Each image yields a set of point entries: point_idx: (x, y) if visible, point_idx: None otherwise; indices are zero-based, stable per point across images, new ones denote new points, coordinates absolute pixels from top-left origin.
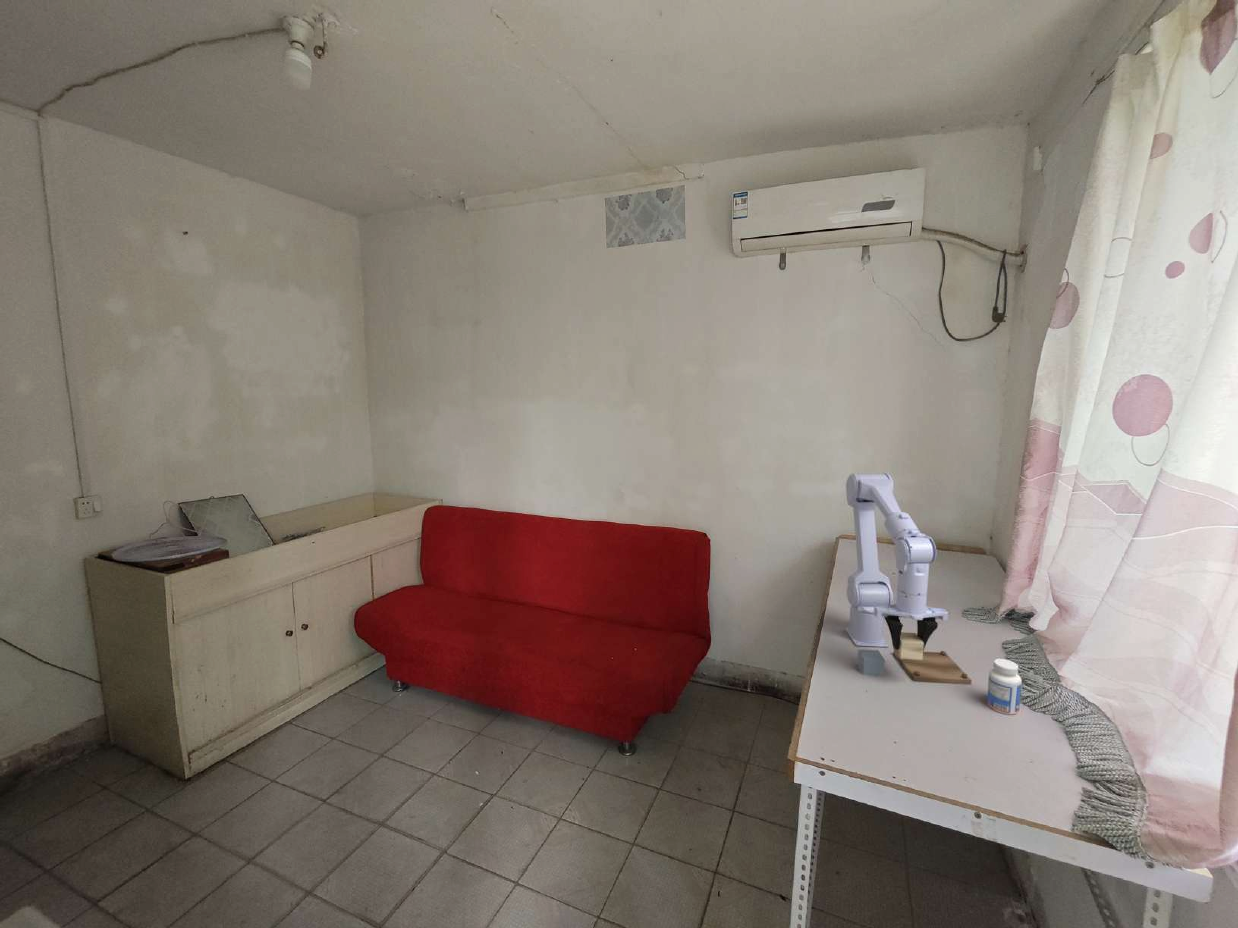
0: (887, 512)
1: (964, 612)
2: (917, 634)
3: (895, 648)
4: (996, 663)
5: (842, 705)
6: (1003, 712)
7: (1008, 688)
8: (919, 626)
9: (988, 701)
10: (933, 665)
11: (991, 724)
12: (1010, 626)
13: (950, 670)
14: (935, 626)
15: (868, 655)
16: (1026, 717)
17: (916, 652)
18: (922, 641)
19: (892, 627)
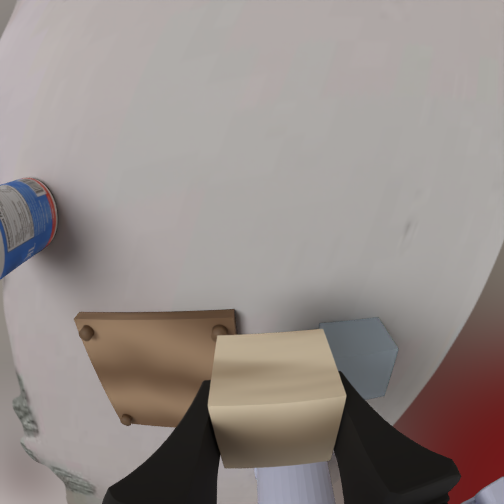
0: None
1: (92, 490)
2: (218, 459)
3: (343, 374)
4: None
5: (481, 146)
6: (35, 179)
7: None
8: (211, 499)
9: (51, 214)
10: (157, 379)
11: (79, 111)
12: (37, 457)
13: (117, 359)
14: (117, 501)
15: (373, 372)
16: (3, 179)
17: (249, 358)
18: (211, 415)
19: (438, 454)
